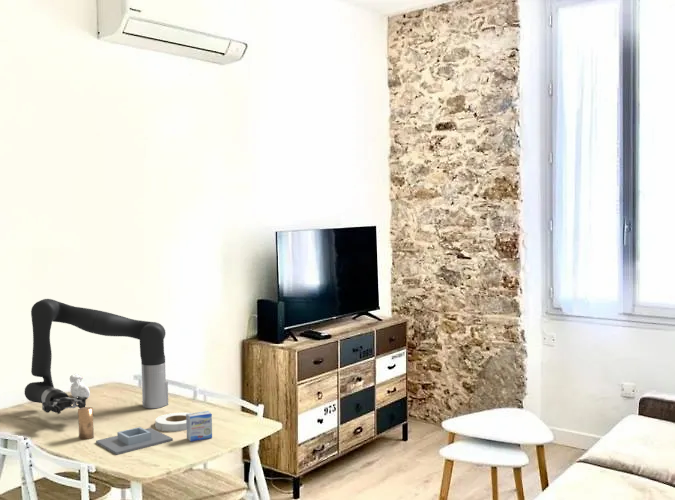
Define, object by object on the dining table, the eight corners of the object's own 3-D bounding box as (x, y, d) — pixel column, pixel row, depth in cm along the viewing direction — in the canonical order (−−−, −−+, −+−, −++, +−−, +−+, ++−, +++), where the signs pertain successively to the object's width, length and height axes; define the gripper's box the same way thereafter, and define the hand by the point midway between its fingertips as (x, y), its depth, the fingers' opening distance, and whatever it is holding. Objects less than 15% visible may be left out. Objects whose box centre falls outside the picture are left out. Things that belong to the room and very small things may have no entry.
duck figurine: (72, 400, 299) (55, 382, 293) (85, 386, 303) (69, 369, 297) (86, 405, 291) (69, 387, 285) (99, 391, 295) (83, 373, 289)
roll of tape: (170, 417, 265) (170, 410, 265) (206, 421, 260) (206, 413, 260) (146, 430, 251) (146, 422, 251) (183, 434, 246) (183, 426, 245)
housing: (150, 430, 249) (150, 420, 249) (172, 440, 238) (172, 431, 237) (96, 442, 236) (95, 433, 236) (116, 454, 224) (116, 444, 224)
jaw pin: (90, 434, 245) (89, 406, 245) (96, 437, 242) (95, 409, 241) (76, 437, 242) (75, 409, 242) (82, 440, 239) (81, 411, 238)
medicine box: (189, 442, 236) (189, 416, 236) (186, 438, 240) (185, 413, 240) (212, 438, 240) (212, 413, 239) (208, 434, 244) (208, 410, 243)
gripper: (35, 392, 257) (51, 401, 245) (73, 386, 267) (91, 394, 255) (35, 412, 258) (51, 422, 246) (74, 405, 267) (91, 415, 255)
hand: (71, 408), depth 250 cm, fingers open, 8 cm apart
